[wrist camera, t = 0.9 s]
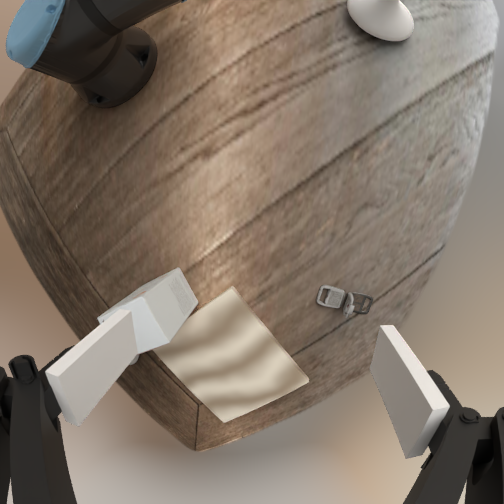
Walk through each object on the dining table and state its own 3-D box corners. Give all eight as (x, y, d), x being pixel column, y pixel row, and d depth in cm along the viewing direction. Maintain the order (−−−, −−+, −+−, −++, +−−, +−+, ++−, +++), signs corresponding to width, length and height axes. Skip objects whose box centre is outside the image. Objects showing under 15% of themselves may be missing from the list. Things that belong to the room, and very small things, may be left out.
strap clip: (314, 301, 41) (317, 313, 37) (320, 282, 41) (324, 292, 36) (366, 313, 41) (374, 325, 37) (373, 295, 40) (381, 306, 36)
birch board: (151, 341, 45) (148, 345, 44) (232, 285, 42) (231, 288, 40) (225, 418, 47) (224, 422, 46) (308, 377, 44) (308, 382, 42)
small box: (159, 320, 44) (121, 361, 31) (139, 286, 43) (94, 317, 31) (200, 302, 43) (170, 344, 30) (180, 265, 42) (141, 294, 29)
